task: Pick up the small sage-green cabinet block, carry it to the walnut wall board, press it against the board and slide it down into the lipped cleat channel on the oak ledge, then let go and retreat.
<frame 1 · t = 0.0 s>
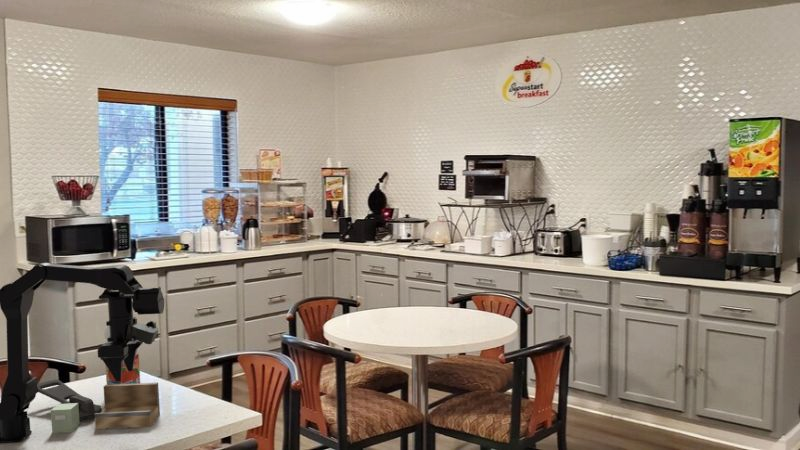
hand: (124, 376, 180), 15 cm above the table, fingers open, 9 cm apart
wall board: (132, 417, 192), on the table
cabinet block: (66, 429, 185), on the table
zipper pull: (67, 412, 199), on the table
fruit juice: (124, 394, 213), on the table
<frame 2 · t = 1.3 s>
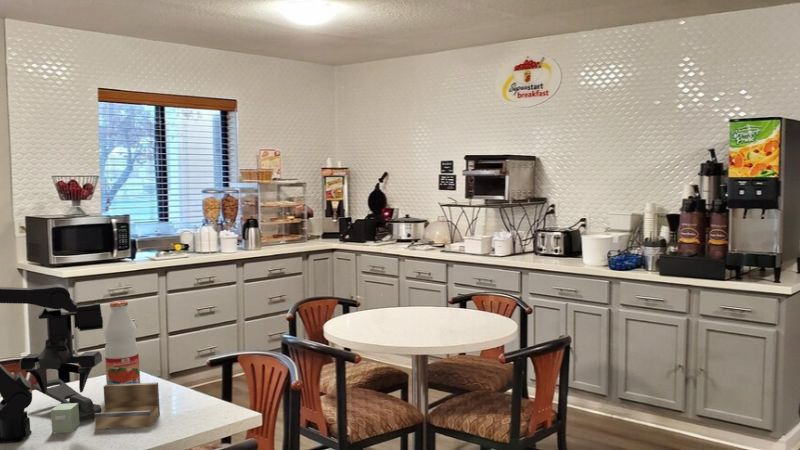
hand: (63, 392, 184), 10 cm above the table, fingers open, 9 cm apart
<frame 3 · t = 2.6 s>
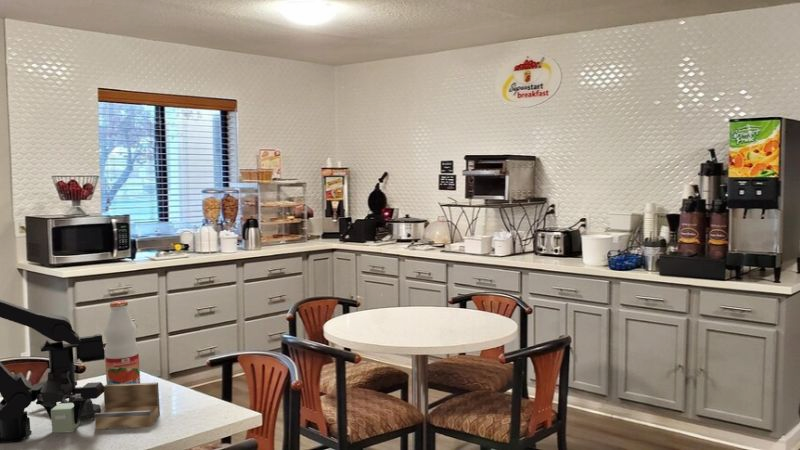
hand: (65, 424, 185), 1 cm above the table, fingers closed on cabinet block, 5 cm apart
cabinet block: (66, 428, 185), on the table, touching gripper
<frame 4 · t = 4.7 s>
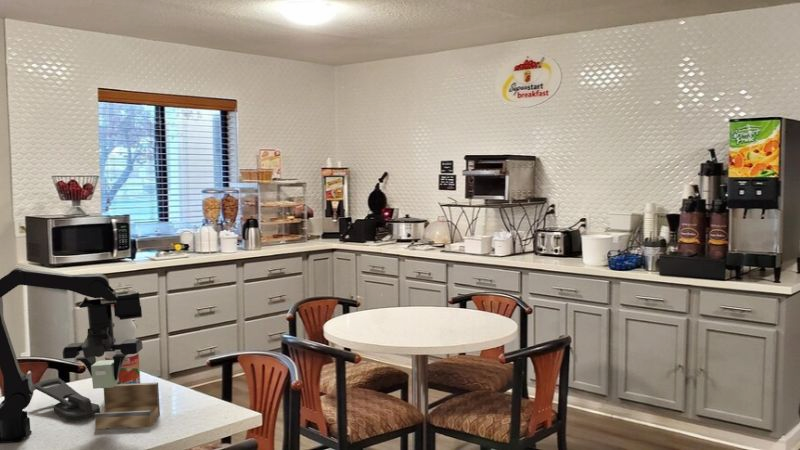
hand: (105, 380, 186), 12 cm above the table, fingers closed on cabinet block, 5 cm apart
cabinet block: (106, 385, 187), point 11 cm above the table, touching gripper
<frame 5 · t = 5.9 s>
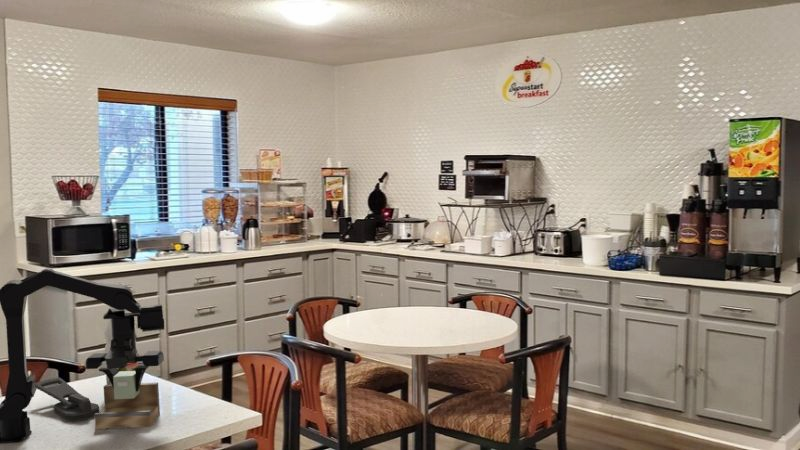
hand: (126, 391, 189), 8 cm above the table, fingers closed on cabinet block, 5 cm apart
cabinet block: (127, 395, 189), point 7 cm above the table, touching gripper
when the fingers open (5 cm above the table, at t = 6.9 s): cabinet block stays where it is, resting on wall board.
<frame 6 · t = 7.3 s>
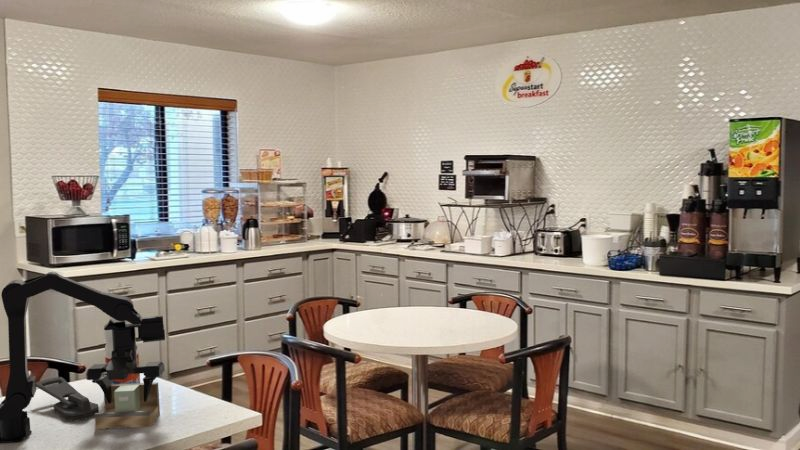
hand: (127, 402, 189), 5 cm above the table, fingers open, 9 cm apart
cabinet block: (128, 410, 189), point 3 cm above the table, touching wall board
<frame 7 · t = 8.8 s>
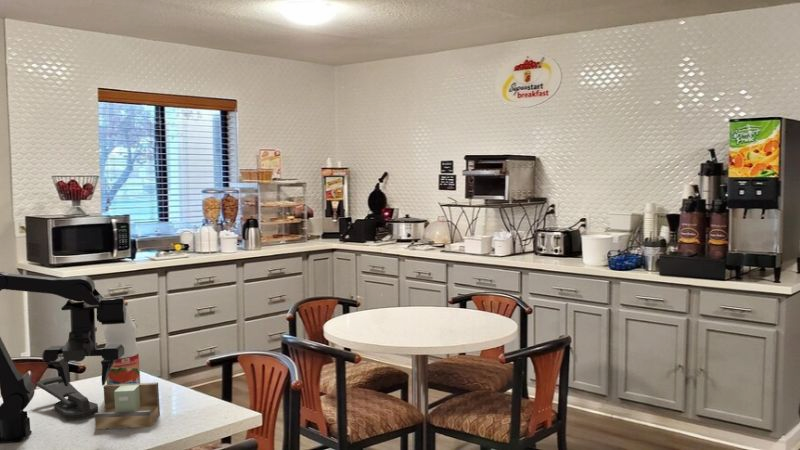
hand: (85, 385, 183), 12 cm above the table, fingers open, 9 cm apart
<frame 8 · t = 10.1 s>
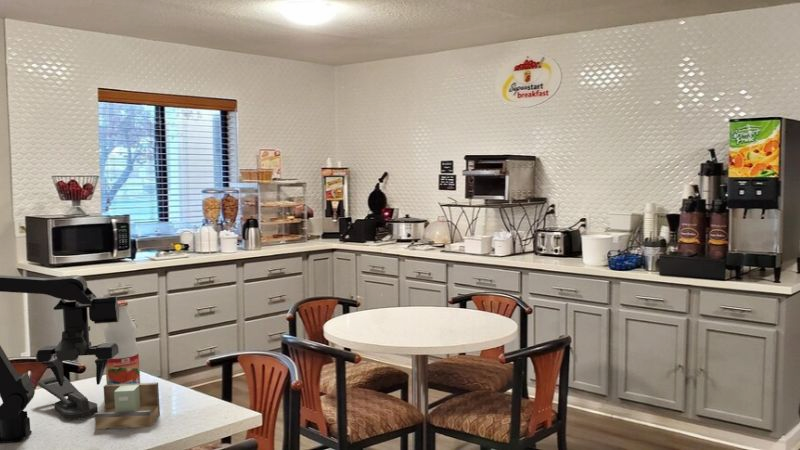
hand: (80, 385, 182), 12 cm above the table, fingers open, 9 cm apart
at the end: cabinet block inside the target area on the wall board (0.7 cm from its centre), point 3.0 cm above the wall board's base; cabinet block tilted 0°; cabinet block touching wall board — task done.
